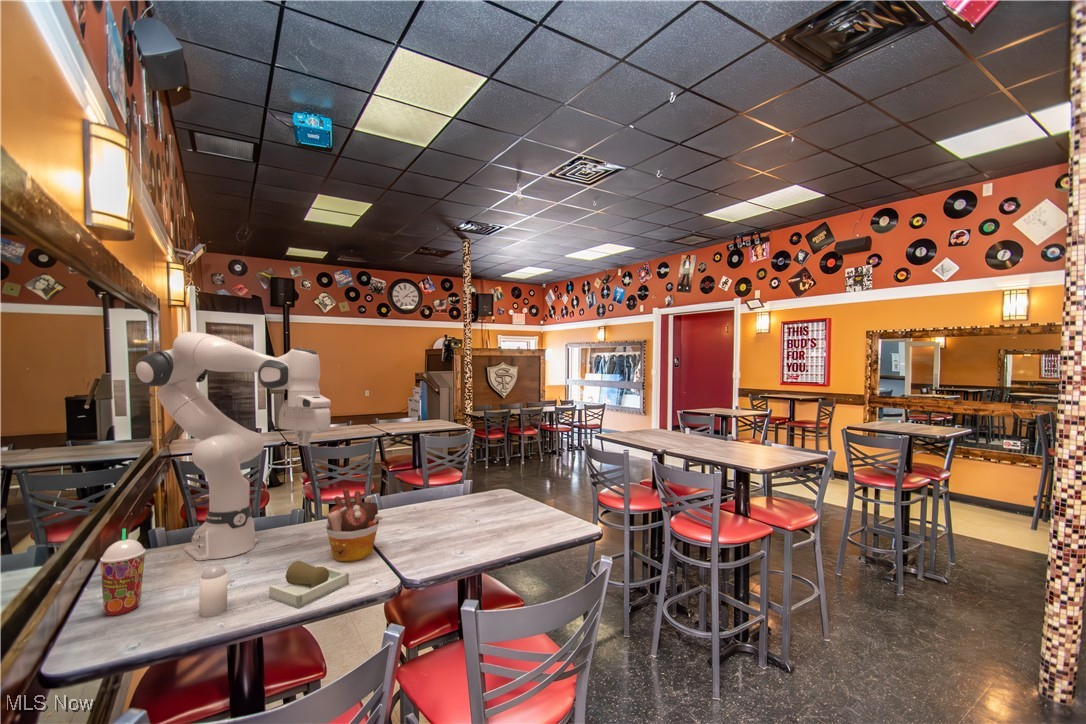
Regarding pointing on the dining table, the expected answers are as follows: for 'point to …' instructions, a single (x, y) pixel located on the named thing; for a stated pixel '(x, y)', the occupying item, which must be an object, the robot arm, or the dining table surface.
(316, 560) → the dining table surface
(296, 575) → the brown chess pawn
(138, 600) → the smoothie
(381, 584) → the dining table surface
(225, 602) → the salt shaker
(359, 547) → the bucket of meat
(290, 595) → the tray
